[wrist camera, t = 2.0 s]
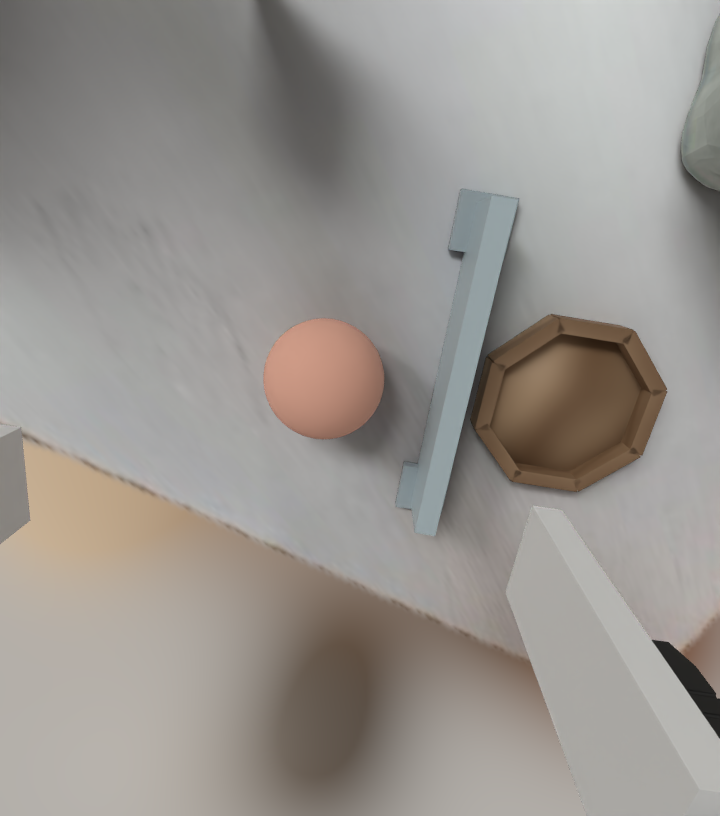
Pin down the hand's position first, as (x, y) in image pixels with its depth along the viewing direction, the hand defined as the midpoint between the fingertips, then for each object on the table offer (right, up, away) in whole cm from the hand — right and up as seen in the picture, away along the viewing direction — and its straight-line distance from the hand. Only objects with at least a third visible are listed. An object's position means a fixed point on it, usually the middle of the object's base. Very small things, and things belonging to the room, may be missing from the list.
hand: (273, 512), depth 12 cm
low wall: (+8, +5, +16) cm, 18 cm away
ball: (0, +5, +16) cm, 17 cm away
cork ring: (+14, +3, +16) cm, 22 cm away
